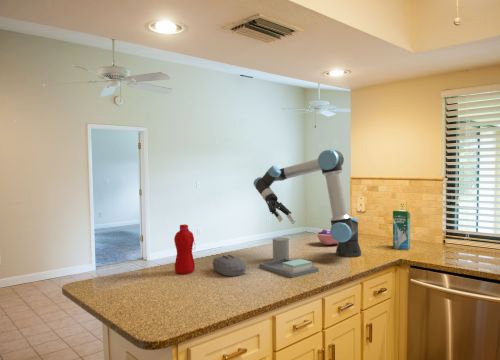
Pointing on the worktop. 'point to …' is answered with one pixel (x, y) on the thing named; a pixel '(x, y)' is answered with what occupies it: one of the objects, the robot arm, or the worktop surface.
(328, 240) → the cell model
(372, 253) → the worktop surface
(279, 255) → the speckled grey can
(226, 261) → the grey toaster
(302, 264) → the teal sponge
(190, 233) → the water bottle
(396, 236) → the milk carton
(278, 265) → the tote tray
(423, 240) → the worktop surface
